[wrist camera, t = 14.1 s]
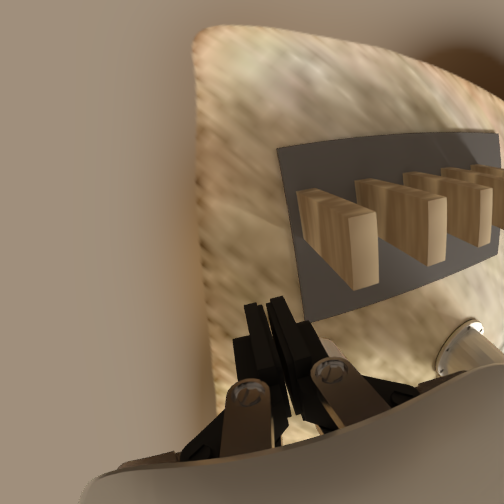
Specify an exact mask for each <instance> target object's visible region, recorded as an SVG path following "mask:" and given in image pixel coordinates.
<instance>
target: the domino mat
mask: <svg viewBox="0 0 504 504" xmlns="http://www.w3.org/2000/svg"><path fill="white" fill-rule="evenodd" d="M277 153H278V158H279V163H280V169H281V174H282V179H283V185H284V190H285V196H286V201H287V207H288V213H289V219H290V224H291V230H292V236H293V243H294V249H295V255H296V262H297V268H298V275H299V282H300V289H301V296H302V303H303V310H304V318H305V321H307V320H309V321H310V323H311V322H315V321H319V320H322V319H326V318H329V317H332V316H336V315H339V314H342V313H346V312H349V311H352V310H355V309H358V308H362V307H365V306H368V305H371V304H374V303H377V302H380V301H383V300H386V299H388V298H391V297H394V296H397V295H400V294H403V293H405V292H408V291H411V290H414V289H416V288H419V287H421V286H424V285H427V284H429V283H432V282H434V281H437V280H439V279H442V278H444V277H447V276H449V275H452V274H454V273H456V272H459V271H461V270H464V269H466V268H468V267H470V266H473V265H475V264H477V263H479V262H482V261H484V260H486V259H488V258H490V257H492V256H495V255H497V254H498V245H499V235H500V228H498V227H496V226H493V225H491V238H490V243H488V244H486V245H484V246H481V247H479V248H478V247H476V246H474V245H472V244H470V243H467V242H465V241H463V240H461V239H459V238H457V237H455V236H452V235H450V234H448V233H447V237H446V256H445V261H442V262H439V263H437V264H434V265H431V266H428V267H427V266H425V265H424V264H422V263H421V262H419V261H417V260H416V259H414V258H413V257H411V256H409V255H408V254H406V253H404V252H403V251H401V250H399V249H398V248H396V247H395V246H393V245H391V244H389V243H388V242H386V241H384V240H383V239H381V238H379V237H378V258H379V283H377V284H374V285H371V286H368V287H364V288H361V289H358V290H355V291H353V290H352V289H351V288H350V287H349V286H348V285H347V283H346V282H345V281H344V280H343V279H342V278H341V277H340V276H339V275H338V274H337V273H336V272H335V271H334V270H333V269H332V268H331V267H330V265H329V264H328V263H327V262H326V261H325V260H324V259H323V258H322V257H321V256H320V255H319V254H318V253H317V252H316V251H315V250H314V249H313V248H312V247H311V246H310V245H309V244H308V243H307V242H306V241H305V240H304V238H303V231H302V225H301V218H300V212H299V206H298V200H297V194H296V191H301V190H306V189H311V188H317V189H319V190H322V191H325V192H327V193H330V194H333V195H335V196H338V197H340V198H343V199H345V200H348V201H351V202H353V203H355V204H357V198H356V190H355V182H354V181H356V180H362V179H368V178H372V179H377V180H381V181H386V182H390V183H394V184H399V185H403V186H404V183H403V173H408V172H415V171H416V172H421V173H427V174H432V175H438V176H441V168H447V167H453V168H459V169H465V170H470V171H471V167H470V165H475V164H480V165H485V166H491V167H496V168H501V157H500V144H499V135H498V134H495V133H466V132H439V133H409V134H392V135H378V136H366V137H356V138H347V139H338V140H330V141H322V142H315V143H308V144H302V145H295V146H289V147H283V148H277Z"/></svg>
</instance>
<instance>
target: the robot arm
mask: <svg viewBox="0 0 504 504" xmlns="http://www.w3.org/2000/svg"><path fill="white" fill-rule="evenodd" d="M266 307H267V311H268V316H269V321H270V326H271V331H272V334H271V331H270V327H269V324H268V321H267V318H266V315H265V312H264V309H263V306H262V305H257V303H256V302H255V303H251V304H247V305H244V310H245V314H246V319H247V324H248V329H249V333H250V335H248V336H244V337H240V338H235V339H233V348H234V356H235V363H236V371H237V379H238V382H236V383H235V384H234V385H232V386H231V387H230V389H229V390H228V392H227V395H226V403H225V409H224V410H223V411H222V412H221V413H220V414H219V415H218V416H217V417H216V418H215V419H214V420H213V421H212V422H211V423H210V424H209V425H208V426H207V427H206V428H205V429H204V430H203V431H201V432H200V433H199V434H198V435H197V436H196V437H195V438H194V439H193V440H192V441H191V442H189V443H188V444H187V445H186V446H185V448H184V449H183V450H182V451H181V452H178V453H175V451H171V452H167V453H163V454H160V455H155V456H151V457H147V458H142V459H137V460H133V461H128V462H125V463H123V464H122V465H120V466H119V467H118V469H117V470H114V471H111V472H108V473H104V474H102V475H100V476H98V477H96V478H94V479H92V480H91V481H90V482H89V483H88V484H87V485H86V486H85V488H84V490H83V492H82V494H81V496H80V499H79V502H78V504H504V353H502V352H501V351H500V350H499V349H498V348H497V347H496V346H495V345H494V344H492V343H491V342H490V341H489V340H488V339H487V338H485V337H484V336H483V325H482V323H480V322H479V321H478V320H470V321H468V322H466V323H464V324H463V325H461V326H460V327H459V328H458V329H457V330H456V331H455V332H454V333H453V334H452V335H451V336H450V337H449V339H448V340H447V341H446V343H445V344H444V346H443V347H442V349H441V351H440V353H439V355H438V358H437V360H436V371H437V373H438V374H439V375H440V376H443V377H439V378H436V379H433V380H429V381H426V382H422V383H419V384H418V387H413V386H410V385H406V384H401V383H396V382H391V381H386V380H381V379H377V378H372V377H368V376H363V375H361V374H360V373H359V372H358V371H357V370H356V368H355V367H354V366H353V365H352V364H351V363H350V362H349V361H347V360H346V359H344V358H341V357H329V356H328V354H327V352H326V350H325V348H324V347H323V345H322V343H321V341H320V339H319V337H318V336H317V334H316V332H315V330H314V328H313V326H312V325H311V323H310V321H309V320H307V321H303V322H299V323H296V322H295V320H294V318H293V316H292V314H291V312H290V310H289V308H288V305H287V303H286V301H285V299H284V297H283V296H280V297H276V298H272V299H270V303H266ZM272 335H273V337H272ZM285 383H286V385H285ZM286 386H287V389H288V392H289V395H290V398H291V402H292V405H293V408H294V411H295V414H296V415H299V414H301V415H302V418H303V421H305V420H306V421H308V422H311V423H313V424H315V426H316V429H317V431H318V432H319V434H320V436H317V437H314V438H310V439H307V440H303V441H300V442H296V443H292V444H288V445H284V446H283V439H282V434H283V432H284V431H285V430H286V428H287V427H288V426H289V424H288V419H287V418H288V417H292V415H291V410H290V405H289V400H288V395H287V390H286Z"/></svg>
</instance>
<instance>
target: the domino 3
mask: <svg viewBox="0 0 504 504" xmlns="http://www.w3.org/2000/svg"><path fill="white" fill-rule="evenodd" d="M403 183H404V186H407V187H411V188H415V189H419V190H423V191H426V192H430V193H434V194H437V195H441V196H444V197H447V233H448V234H450V235H452V236H455V237H457V238H459V239H461V240H463V241H465V242H467V243H470V244H472V245H474V246H476V247H478V248H479V247H481V246H484V245H486V244H488V243H490V238H491V225H492V197H493V188H491V187H487V186H483V185H479V184H475V183H470V182H466V181H462V180H457V179H452V178H448V177H443V176H438V175H432V174H427V173H421V172H416V171H415V172H408V173H403Z"/></svg>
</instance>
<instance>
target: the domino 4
mask: <svg viewBox="0 0 504 504" xmlns="http://www.w3.org/2000/svg"><path fill="white" fill-rule="evenodd" d="M441 176H443V177H448V178H452V179H457V180H462V181H466V182H470V183H475V184H479V185H483V186H487V187H491V188H493V197H492V225H493V226H496V227H498V228H501V229H503V230H504V177H500V176H495V175H490V174H486V173H481V172H476V171H470V170H465V169H459V168H453V167H447V168H441Z"/></svg>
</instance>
